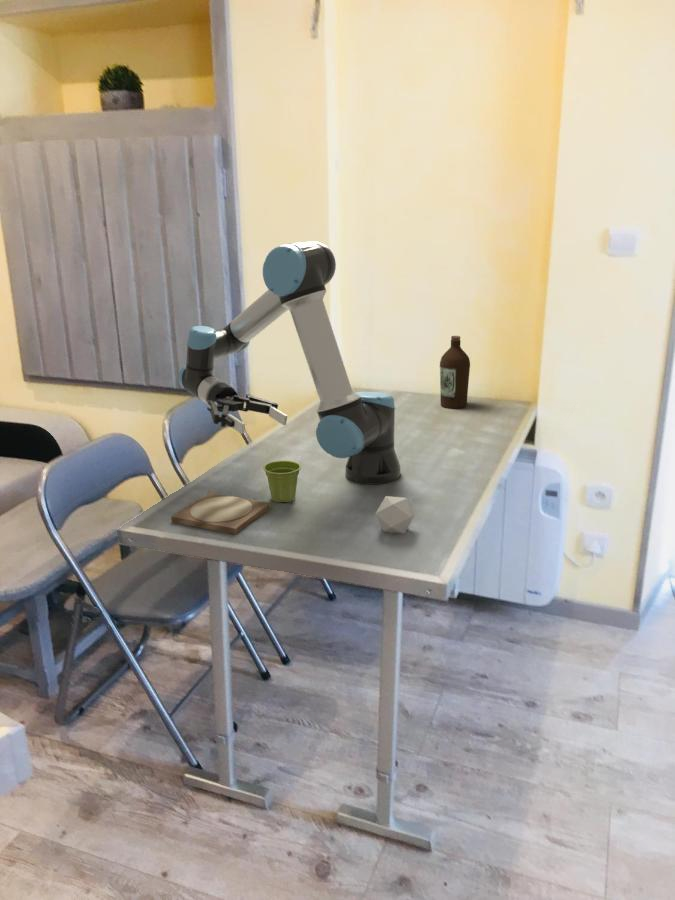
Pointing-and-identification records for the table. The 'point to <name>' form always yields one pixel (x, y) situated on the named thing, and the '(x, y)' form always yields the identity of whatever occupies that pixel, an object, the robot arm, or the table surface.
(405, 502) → the die
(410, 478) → the table surface
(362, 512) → the table surface
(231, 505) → the walnut board
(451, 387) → the olive oil
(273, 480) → the plant pot
